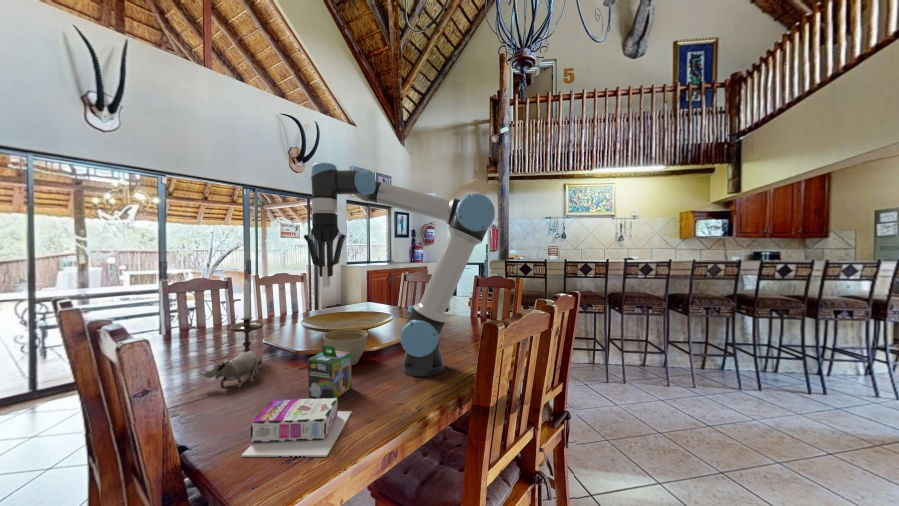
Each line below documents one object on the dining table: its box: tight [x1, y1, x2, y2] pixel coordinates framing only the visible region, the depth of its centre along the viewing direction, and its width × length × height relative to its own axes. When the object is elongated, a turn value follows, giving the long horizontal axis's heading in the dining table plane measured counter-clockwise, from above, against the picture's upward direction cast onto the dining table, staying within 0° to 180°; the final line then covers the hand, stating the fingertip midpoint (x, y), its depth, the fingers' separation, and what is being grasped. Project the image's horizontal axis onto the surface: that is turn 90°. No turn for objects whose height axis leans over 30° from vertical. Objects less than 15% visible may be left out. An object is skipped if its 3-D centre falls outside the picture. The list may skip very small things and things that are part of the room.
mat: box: [241, 410, 353, 458], centre depth 77 cm, size 18×18×1 cm
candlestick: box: [228, 270, 264, 364], centre depth 122 cm, size 11×11×35 cm
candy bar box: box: [250, 398, 338, 444], centre depth 78 cm, size 11×5×16 cm
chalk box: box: [307, 344, 353, 399], centre depth 98 cm, size 9×9×15 cm
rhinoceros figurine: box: [197, 350, 260, 388], centre depth 105 cm, size 8×14×15 cm
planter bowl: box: [322, 328, 369, 366], centre depth 123 cm, size 16×16×11 cm
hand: (326, 286), depth 103 cm, fingers closed
